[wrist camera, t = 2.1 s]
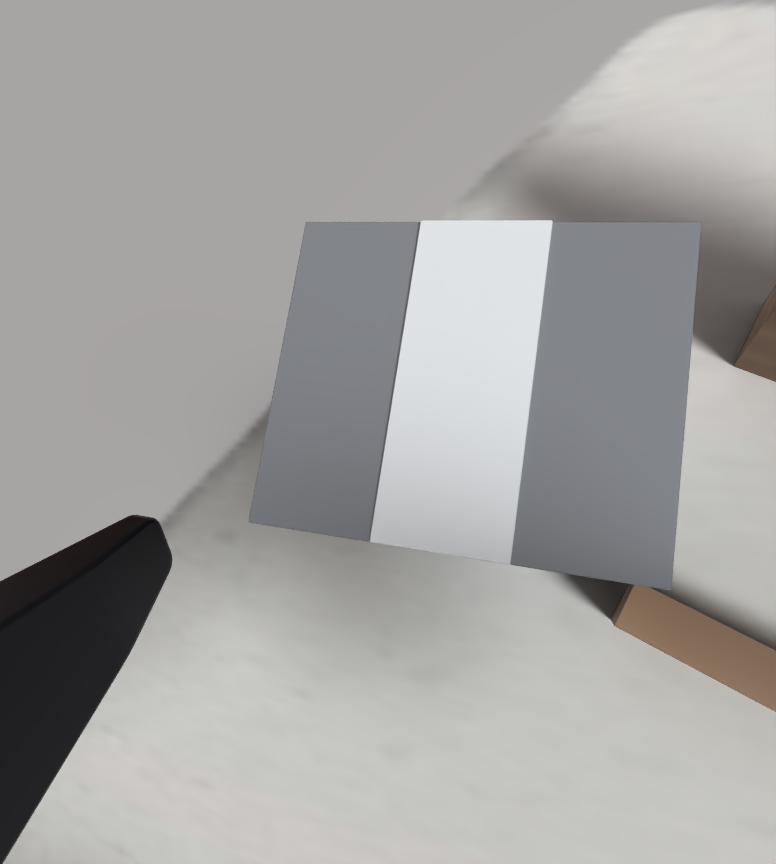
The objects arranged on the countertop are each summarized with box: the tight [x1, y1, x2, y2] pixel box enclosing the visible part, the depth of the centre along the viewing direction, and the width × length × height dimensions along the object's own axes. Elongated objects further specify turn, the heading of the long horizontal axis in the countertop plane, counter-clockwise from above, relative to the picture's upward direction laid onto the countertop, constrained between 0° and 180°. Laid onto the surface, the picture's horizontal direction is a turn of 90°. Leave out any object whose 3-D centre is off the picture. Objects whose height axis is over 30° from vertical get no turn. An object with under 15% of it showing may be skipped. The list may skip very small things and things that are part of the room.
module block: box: [249, 220, 702, 591], centre depth 14 cm, size 5×6×10 cm
